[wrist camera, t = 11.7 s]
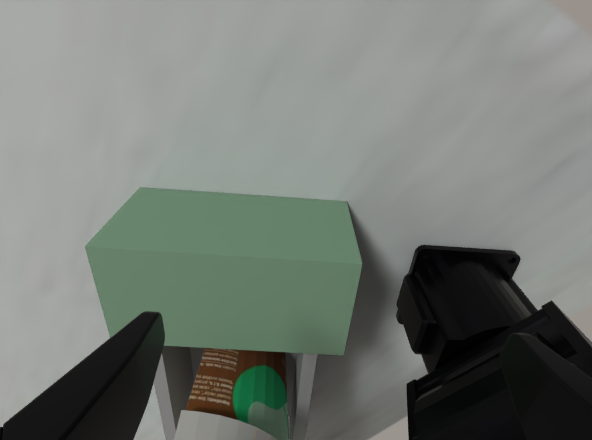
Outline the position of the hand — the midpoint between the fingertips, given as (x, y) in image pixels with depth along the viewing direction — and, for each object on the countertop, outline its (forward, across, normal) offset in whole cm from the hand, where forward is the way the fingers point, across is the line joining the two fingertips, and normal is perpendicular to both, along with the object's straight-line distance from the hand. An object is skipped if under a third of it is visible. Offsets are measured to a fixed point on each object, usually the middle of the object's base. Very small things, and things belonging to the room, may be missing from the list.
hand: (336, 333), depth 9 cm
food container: (+12, +3, +16) cm, 20 cm away
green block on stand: (+12, +4, +13) cm, 18 cm away
